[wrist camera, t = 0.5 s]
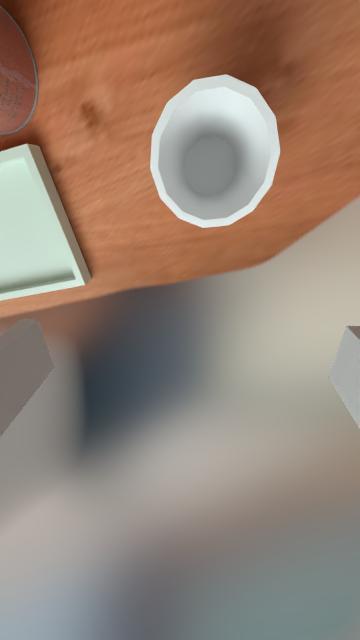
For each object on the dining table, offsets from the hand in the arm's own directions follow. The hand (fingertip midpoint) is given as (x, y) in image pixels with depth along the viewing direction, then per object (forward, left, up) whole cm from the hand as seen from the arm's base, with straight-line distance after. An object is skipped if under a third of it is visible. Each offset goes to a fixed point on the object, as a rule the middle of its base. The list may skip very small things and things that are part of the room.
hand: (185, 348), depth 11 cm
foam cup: (-7, +3, -26) cm, 27 cm away
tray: (-5, -25, -26) cm, 37 cm away
